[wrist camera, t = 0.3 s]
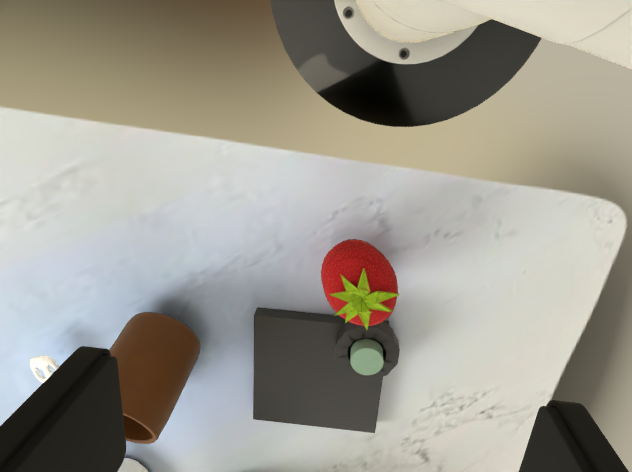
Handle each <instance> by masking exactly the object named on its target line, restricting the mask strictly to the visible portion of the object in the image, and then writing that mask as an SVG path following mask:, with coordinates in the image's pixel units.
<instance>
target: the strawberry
mask: <svg viewBox="0 0 632 472" xmlns="http://www.w3.org/2000/svg"><path fill="white" fill-rule="evenodd" d="M321 278H322V284H323V288H324V292H325V295H326V298H327V300H328V302H329V303H330V305H331V307H332V308H333V309H334V310H335V311H336V312H337V313H336V314H334V316H335V315H340V316H341V317H342V318H344V319H345V323H346V322H348V321H349V322H351V323H353V324H356V325H361V326H365V328H366V330H368V326H373V325H377V324H379V323H381V322H383V321H384V320H386V319H387V318H388V317H389V316H390V314H391V313H392V312H393V309H394V307H395V304H396V299H397V296H398V295H399V294H398V286H397V279H396V275H395V272H394V270H393V268H392V266H391V264H390V263H389V261H388V260H387V259H386V258H385V256H384V255H383V254H382V253H381V252H380V251H378V250H377V249H376V248H375V247H374V246H372V245H371V244H369V243H367V242H364V241H362V240H356V239H352V240H346V241H343V242H341V243H339V244H337V245H336V246H335V247H333V248H332V249H331V250H330V251H329V252H328V254H327V255H326V257H325V258H324V261H323V264H322V270H321Z"/></svg>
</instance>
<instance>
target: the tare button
mask: <svg viewBox="0 0 632 472" xmlns="http://www.w3.org/2000/svg"><path fill="white" fill-rule="evenodd" d="M350 362H351V366H352V368H353V369H354V370H355V371H356V372H357V373H359V374H362V375H373V374H376V373H377V372H379V371H380V370H381V368H382V367H383V364H384V360H383V350H382V347H381V345H380V344H379V343H378V342H377V341H375V340H373V339H367V338H365V339H360V340H358V341H356V342H355V343H354V344H353V345H352V347H351V358H350Z"/></svg>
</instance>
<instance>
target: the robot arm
mask: <svg viewBox="0 0 632 472" xmlns="http://www.w3.org/2000/svg"><path fill="white" fill-rule="evenodd" d="M334 2H335V7H336V10H337V12H338V15H339V17H340V20H341V22H342V24H343V26H344V28H345V29H346V31H347V32H348V34H349V35H350V36H351V38H352V39H353V40H354V41H355V42H356V43H357V44H358V45H359V46H360V47H361V48H362V49H364V50H365V51H366V52H368V53H370V54H371V55H373V56H375V57H376V58H379V59H382V60H384V61H387V62H391V63H397V64H418V63H423V62H428V61H431V60H434V59H436V58H439V57H441V56H444V55H445V54H447V53H448V52H450V51H452V50H453V49H455V48H456V47H458V46H459V45H460V44H461V43H462V42H463V41H464V40H466V39H467V38H468V37H469V36H470V35H471V34H472V32H473V31H474V30H475V29H476V28H477V26H478V25H479V24H482V23H484V22H486V21H488V20H491V19H494V20H496V21H499V22H502V23H504V24H507V25H510V26H512V27H515V28H518V29H520V30H523V31H525V32H528V33H531V34H533V35H536V36H539V37H541V38H544V39H547V40H550V41H552V42H555V43H558V44H566V45H569V46H572V47H575V48H577V49H580V50H583V51H585V52H588V53H590V54H593V55H596V56H598V57H601V58H604V59H606V60H609V61H611V62H614V63H617V64H619V65H622V66H625V67H627V68H630V69H632V0H334ZM348 10H350V11H351V12H352V15H351V16H350V17H347V16H346V14H345V13H346V11H348ZM403 50H404V51H406V56H405V57H401V55H400V53H401V51H403ZM125 454H126V439H125V429H124V420H123V410H122V400H121V390H120V381H119V371H118V362H117V359H116V357H114V356H111V353H110V351H109V350H108V349H103V348H94V347H85V346H82V347H79V348H78V349H77V350H76V351H75V352H74V353H73V354H72V355H71V356H70V357H69V358H68V359H67V360H66V361H65V362H64V363H63V364H62V365H61V366H60V367H59V368H58V369H57V370H56V371H55V372H54V373H53V374H52V375H51V376H50V377H49V378H48V379H47V380H46V381H45V382H44V383H43V384H42V385H41V386H40V387H39V388H38V389H37V390H36V391H35V392H34V393H33V394H32V395H31V396H30V397H29V398H28V399H27V400H26V401H25V402H24V403H23V404H22V405H21V406H20V407H19V408H18V409H17V410H16V411H15V412H14V413H13V414H12V415H11V416H10V417H9V418H8V419H7V420H6V421H5V422H4V423H3V424H2V425H1V426H0V472H118V470H119V468H120V467H121V465H122V463H123V460H124V458H125ZM519 472H629V471H628V470H627V469H626V467H625V466H624V464H623V463H622V461H621V460H620V458H619V457H618V455H617V454H616V452H615V451H614V449H613V448H612V447H611V445H610V444H609V442H608V441H607V439H606V438H605V436H604V435H603V434H602V432H601V430H600V429H599V427H598V426H597V424H596V423H595V422H594V420H593V418H592V417H591V416H590V414H589V413H588V411H587V410H586V408H585V407H584V406H583V405H582V404H580V403H574V402H565V401H556V400H552V401H550V402H549V403H548V404H547V406H541V407H540V409H539V411H538V414H537V417H536V420H535V423H534V426H533V429H532V432H531V436H530V439H529V442H528V445H527V448H526V451H525V454H524V458H523V461H522V464H521V467H520V470H519Z"/></svg>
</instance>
